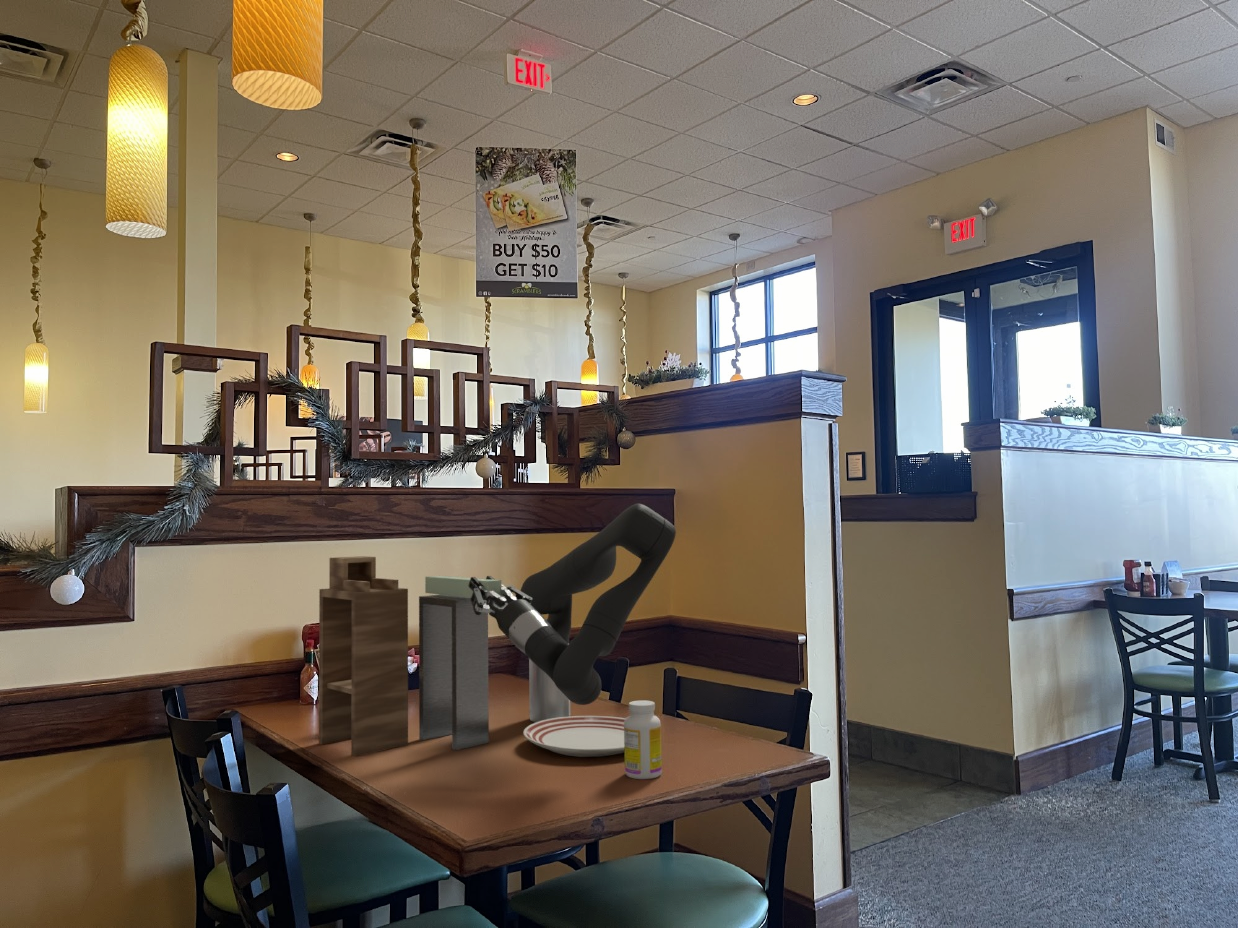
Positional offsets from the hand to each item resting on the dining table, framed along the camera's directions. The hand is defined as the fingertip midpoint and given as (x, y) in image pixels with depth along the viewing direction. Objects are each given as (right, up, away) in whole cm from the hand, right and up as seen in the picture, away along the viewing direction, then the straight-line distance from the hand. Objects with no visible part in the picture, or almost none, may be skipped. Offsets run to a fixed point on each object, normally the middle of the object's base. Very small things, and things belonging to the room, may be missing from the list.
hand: (479, 580), depth 184 cm
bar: (-4, -4, +4) cm, 7 cm away
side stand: (-6, -34, +5) cm, 35 cm away
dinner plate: (+23, -34, 0) cm, 41 cm away
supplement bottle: (+33, -32, -22) cm, 51 cm away
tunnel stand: (-24, -34, +3) cm, 42 cm away
